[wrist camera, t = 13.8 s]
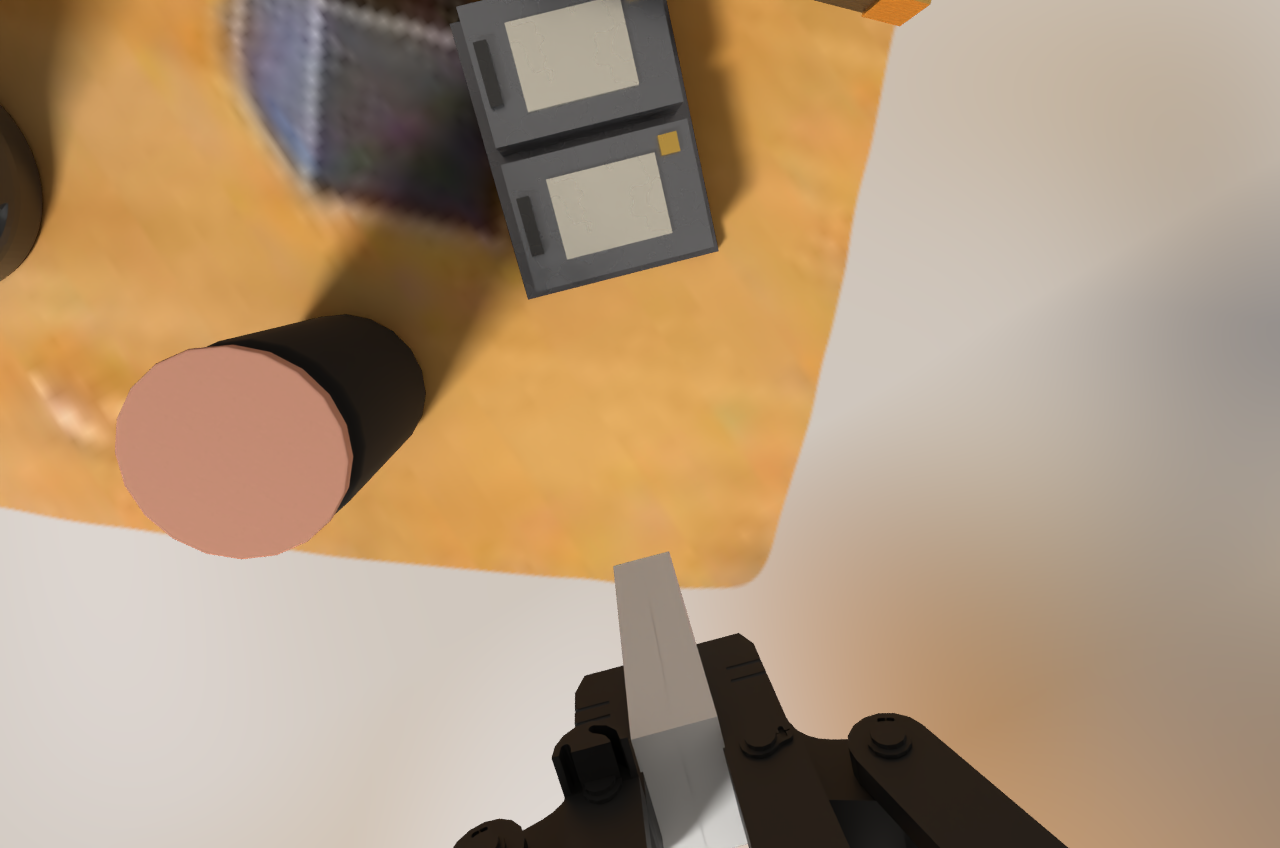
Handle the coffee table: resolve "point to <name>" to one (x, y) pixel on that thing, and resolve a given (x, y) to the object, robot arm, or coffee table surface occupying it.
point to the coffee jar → (267, 432)
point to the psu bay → (586, 136)
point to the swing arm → (883, 9)
